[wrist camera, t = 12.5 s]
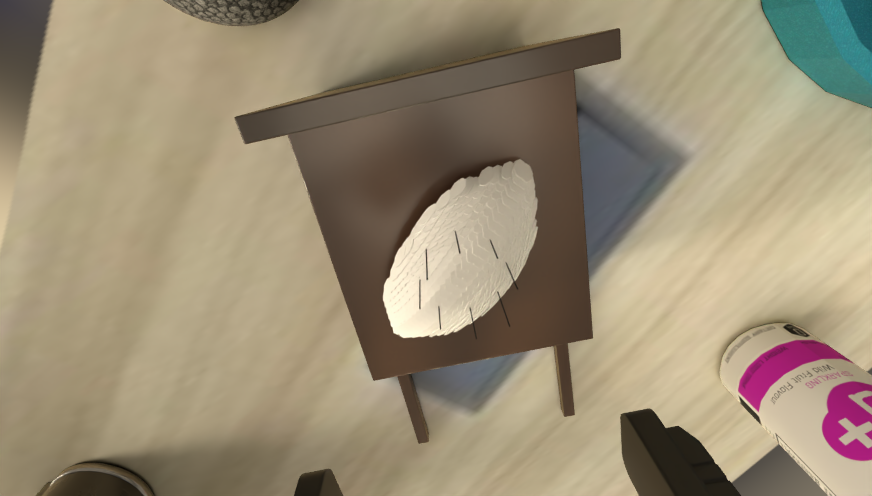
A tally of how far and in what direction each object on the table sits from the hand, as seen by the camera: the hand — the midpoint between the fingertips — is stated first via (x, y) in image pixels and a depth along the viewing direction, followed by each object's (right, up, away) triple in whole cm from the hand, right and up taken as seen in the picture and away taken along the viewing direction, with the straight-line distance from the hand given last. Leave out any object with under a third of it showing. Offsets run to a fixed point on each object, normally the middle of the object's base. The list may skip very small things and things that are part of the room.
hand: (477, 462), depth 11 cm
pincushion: (0, +6, +12) cm, 13 cm away
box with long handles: (+1, +3, +22) cm, 23 cm away
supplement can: (+29, -4, +27) cm, 39 cm away
